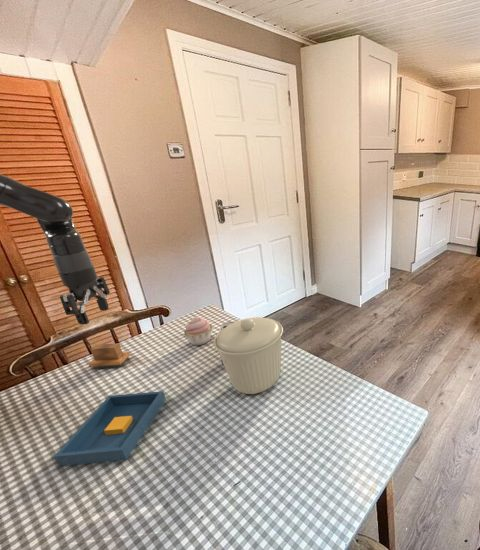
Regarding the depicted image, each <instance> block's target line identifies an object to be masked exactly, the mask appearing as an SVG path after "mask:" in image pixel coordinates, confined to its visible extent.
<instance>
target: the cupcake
mask: <svg viewBox="0 0 480 550" xmlns="http://www.w3.org/2000/svg"><path fill="white" fill-rule="evenodd" d="M212 330H213V324H212V323H211V324H210V323H209V321H208V320H206V319H205V318H203V317H201V316H194V317H192V319H190V321H189V322H188V323H187V324H186V325H185V330H184V331H183V333H184V334H183V336H184V337H185V338H187V339H188V341H189V343H190V344H191V345H192V346H202V345H205V344H207V343H208V342H210V340H211V338H212V337H211V336H212Z"/></svg>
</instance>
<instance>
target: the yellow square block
mask: <svg viewBox="0 0 480 550" xmlns="http://www.w3.org/2000/svg"><path fill="white" fill-rule="evenodd" d="M132 421H133V418H132V416H123V417H115V418H114V419H113V420H112V421H111V423H110V424H109V425H108V426H107V427H106V429H105V430H104V432H105V434H106V435H111V434H122V433H124V432H125V431H126V429H127V428H128V427H129V425H130V424H131V423H132Z"/></svg>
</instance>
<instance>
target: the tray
mask: <svg viewBox="0 0 480 550" xmlns="http://www.w3.org/2000/svg"><path fill="white" fill-rule="evenodd" d="M164 392H165V391H164V390H161V391H149V392H137V393H125V394H124V393H123V394H112V395H111V394H110V395H108V396H107V397H106V398H105V400H103V401H102V403H101V404H100V405H99V406H98V407H97V408H96V410H94V411H93V413H92V414H90V416H89V417H88V418H87V419H86V420H85V421H84V422H83V424H82V425H81V426H80V427H79V428H78V429H77V430H76V431H75V433H73V435H72V436H71V437H70V438H69V439H68V440H67V441H66V443H64V444H63V446H62V447H61V448H60V449H59V450H58V451H57V452H56V454H55V455H54V456H53V459H54V461H55V462H56V464H57V466H58V467H59V468H61V467H69V466H78V465H89V464H99V463H109V462H117V461H127V460H128V458H129V456H130V455H131V454H132V452H133V451H134V449H135V447H136V446H137V444H138V443H139V442H140V440H141V439H142V437H143V436H144V433H146V432H147V430H148V427H150V425H151V424H152V422H153V420H154V419H155V417H156V416H157V415H158V413H159V411H160V410H161V408H162V407H163V405H164V404H165V403H166V401H167V398H166V396H165V393H164ZM123 416H132V418H133V421H132V423H131V424H130V425H129V427H128V428H127V429H126V431H125V432H124V433H122V434H111V435H106V434H105V432H104V430H105V429H106V427H107V426H108V425H109V424H110V423H111V421H112V420H113V419H114V418H115V417H123Z"/></svg>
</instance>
